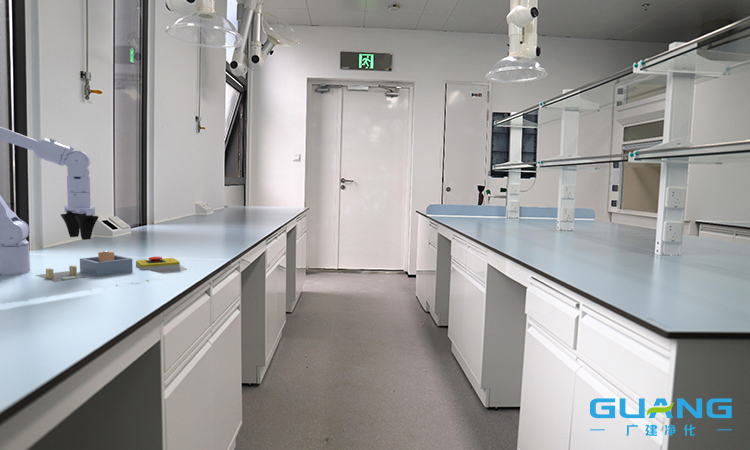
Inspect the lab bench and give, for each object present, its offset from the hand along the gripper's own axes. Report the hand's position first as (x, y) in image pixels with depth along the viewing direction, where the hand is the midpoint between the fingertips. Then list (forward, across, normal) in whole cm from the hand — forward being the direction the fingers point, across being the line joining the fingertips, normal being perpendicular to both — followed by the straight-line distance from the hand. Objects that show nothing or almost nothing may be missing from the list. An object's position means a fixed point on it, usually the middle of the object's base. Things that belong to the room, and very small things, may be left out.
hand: (80, 238), depth 140 cm
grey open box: (+10, -9, -3) cm, 14 cm away
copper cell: (+10, -9, -3) cm, 13 cm away
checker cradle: (+10, -7, +8) cm, 15 cm away
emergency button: (+11, -11, -18) cm, 24 cm away
